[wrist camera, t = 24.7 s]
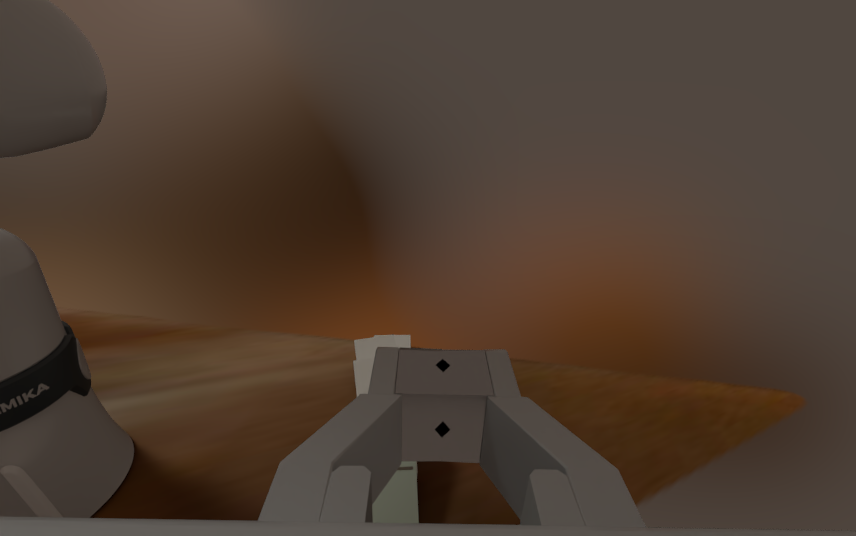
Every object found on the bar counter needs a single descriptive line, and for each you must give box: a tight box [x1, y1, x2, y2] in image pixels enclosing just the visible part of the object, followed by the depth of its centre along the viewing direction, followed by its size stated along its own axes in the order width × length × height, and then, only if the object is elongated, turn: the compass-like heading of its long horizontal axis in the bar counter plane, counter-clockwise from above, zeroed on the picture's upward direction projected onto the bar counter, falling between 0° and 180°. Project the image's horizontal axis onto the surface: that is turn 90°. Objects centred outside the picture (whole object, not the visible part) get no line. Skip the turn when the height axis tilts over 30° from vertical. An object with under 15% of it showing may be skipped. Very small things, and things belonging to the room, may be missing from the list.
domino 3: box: [372, 461, 419, 523], centre depth 37 cm, size 2×5×9 cm
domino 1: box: [353, 358, 374, 397], centre depth 46 cm, size 2×5×9 cm
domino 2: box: [354, 335, 396, 360], centre depth 50 cm, size 2×5×9 cm
